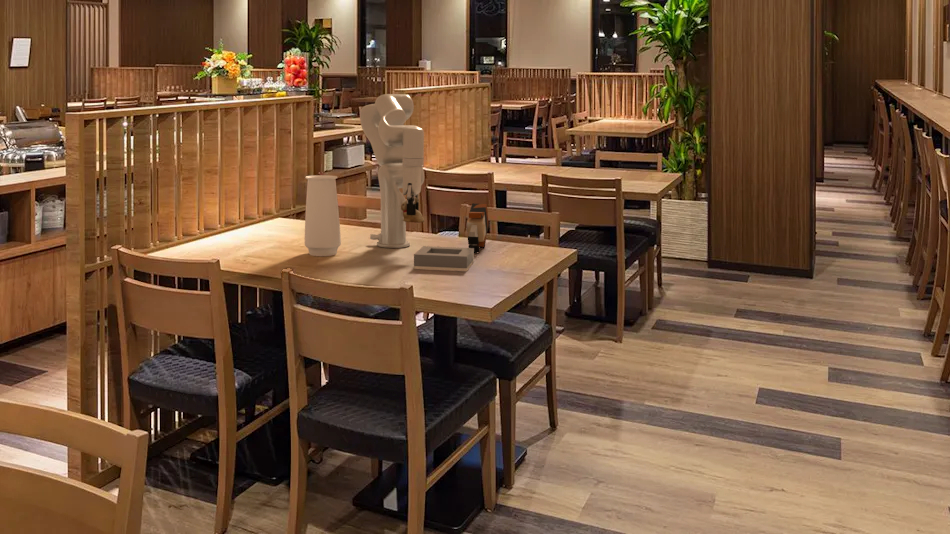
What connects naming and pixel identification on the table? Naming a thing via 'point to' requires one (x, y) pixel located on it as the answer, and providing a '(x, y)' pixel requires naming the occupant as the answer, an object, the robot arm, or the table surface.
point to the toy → (477, 226)
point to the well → (444, 258)
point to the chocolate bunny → (411, 218)
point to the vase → (322, 216)
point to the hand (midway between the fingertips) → (412, 213)
